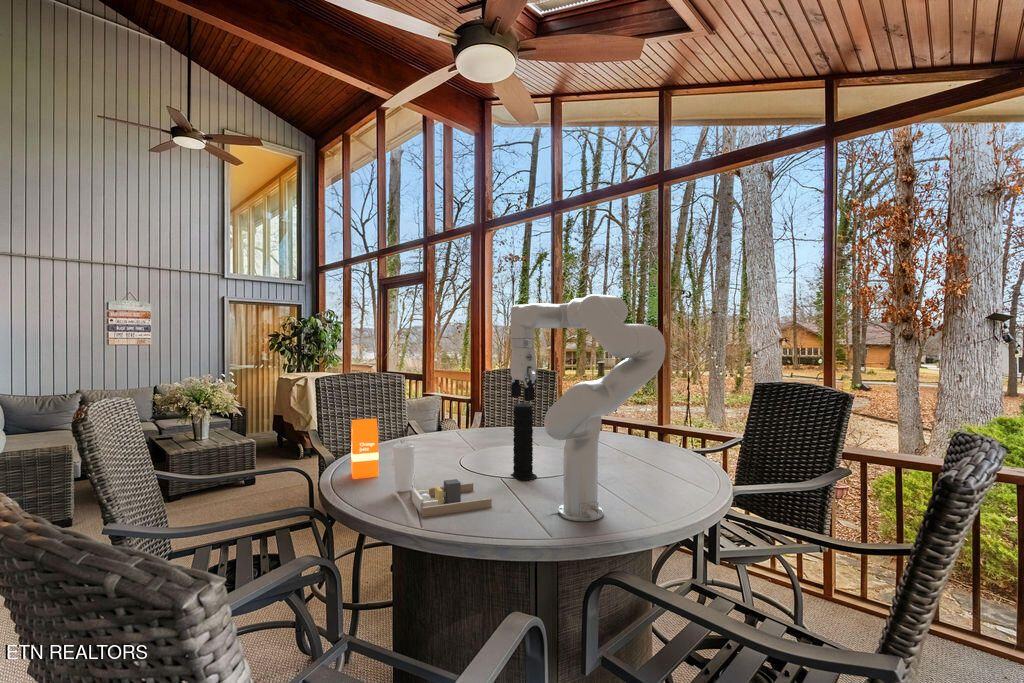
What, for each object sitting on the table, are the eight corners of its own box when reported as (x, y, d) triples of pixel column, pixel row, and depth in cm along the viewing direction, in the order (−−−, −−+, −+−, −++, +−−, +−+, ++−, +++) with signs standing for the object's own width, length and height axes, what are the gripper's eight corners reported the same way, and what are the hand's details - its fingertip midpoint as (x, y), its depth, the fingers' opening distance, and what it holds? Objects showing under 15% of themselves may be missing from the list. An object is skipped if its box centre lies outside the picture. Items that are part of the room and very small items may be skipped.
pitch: (491, 510, 146) (491, 498, 146) (422, 520, 138) (422, 508, 138) (472, 492, 161) (472, 482, 161) (409, 501, 153) (409, 490, 153)
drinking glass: (393, 496, 158) (393, 448, 158) (392, 489, 164) (392, 443, 164) (415, 494, 160) (415, 447, 159) (413, 487, 166) (413, 442, 166)
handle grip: (536, 481, 173) (538, 473, 183) (536, 404, 173) (538, 400, 183) (507, 481, 174) (510, 472, 184) (507, 404, 174) (510, 400, 184)
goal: (438, 511, 142) (438, 497, 142) (420, 513, 140) (420, 499, 140) (428, 499, 153) (428, 486, 153) (411, 501, 151) (411, 488, 151)
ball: (417, 501, 144) (425, 510, 145) (427, 493, 145) (435, 502, 146) (414, 497, 147) (422, 506, 148) (424, 489, 148) (431, 498, 149)
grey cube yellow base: (461, 503, 148) (461, 483, 148) (439, 506, 146) (439, 485, 146) (456, 498, 153) (456, 478, 153) (434, 501, 150) (434, 481, 150)
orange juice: (378, 476, 179) (378, 420, 179) (352, 479, 176) (352, 421, 176) (376, 470, 187) (375, 416, 186) (351, 473, 183) (350, 418, 183)
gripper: (545, 344, 152) (545, 401, 153) (522, 343, 168) (522, 394, 169) (523, 345, 149) (523, 402, 150) (501, 343, 165) (501, 396, 166)
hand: (522, 398), depth 159 cm, fingers open, 9 cm apart
